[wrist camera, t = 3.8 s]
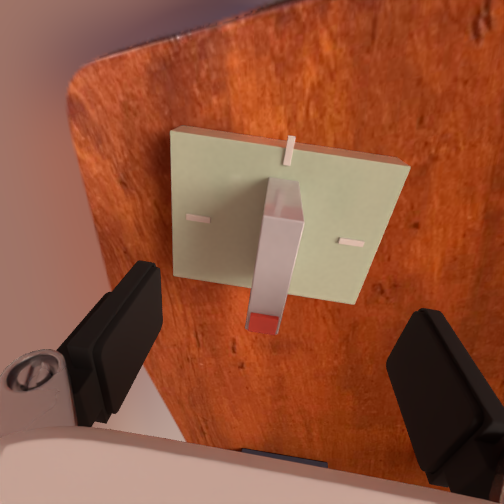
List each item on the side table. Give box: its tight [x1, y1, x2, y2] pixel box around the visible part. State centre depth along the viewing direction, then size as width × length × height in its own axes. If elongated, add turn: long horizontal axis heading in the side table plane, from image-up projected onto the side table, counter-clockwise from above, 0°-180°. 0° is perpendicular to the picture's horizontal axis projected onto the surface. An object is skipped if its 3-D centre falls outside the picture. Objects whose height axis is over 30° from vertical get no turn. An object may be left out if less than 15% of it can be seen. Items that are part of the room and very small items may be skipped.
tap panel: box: [170, 125, 411, 305], centre depth 17 cm, size 12×10×2 cm
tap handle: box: [245, 177, 305, 335], centre depth 14 cm, size 6×2×5 cm, turn 173°
